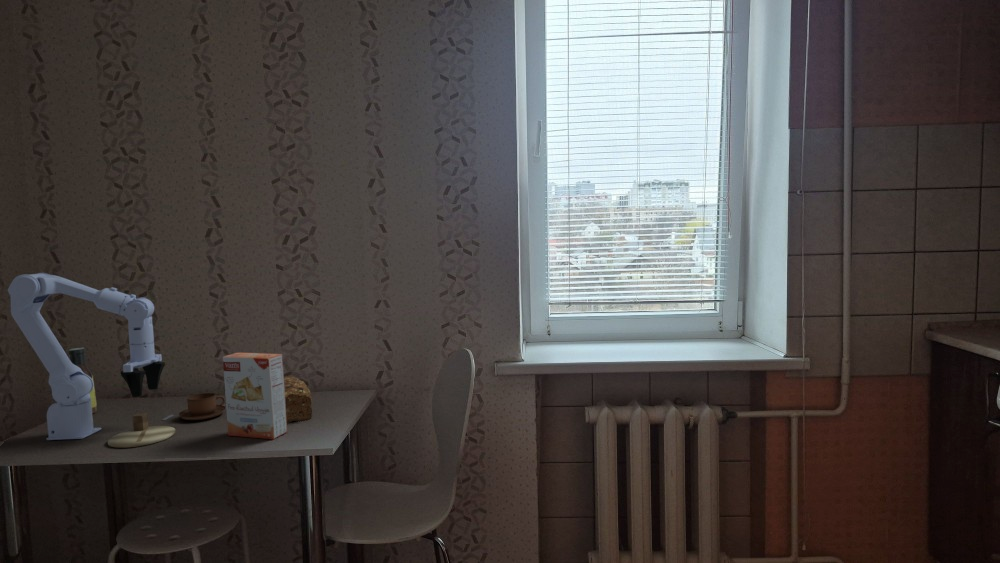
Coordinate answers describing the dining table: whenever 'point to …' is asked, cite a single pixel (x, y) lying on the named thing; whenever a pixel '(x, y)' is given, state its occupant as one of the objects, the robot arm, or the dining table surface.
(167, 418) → the tape mark left
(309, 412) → the bread
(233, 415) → the cracker box
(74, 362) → the sauce bottle
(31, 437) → the dining table surface
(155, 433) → the cream disc with block
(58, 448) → the dining table surface
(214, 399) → the cup and saucer
